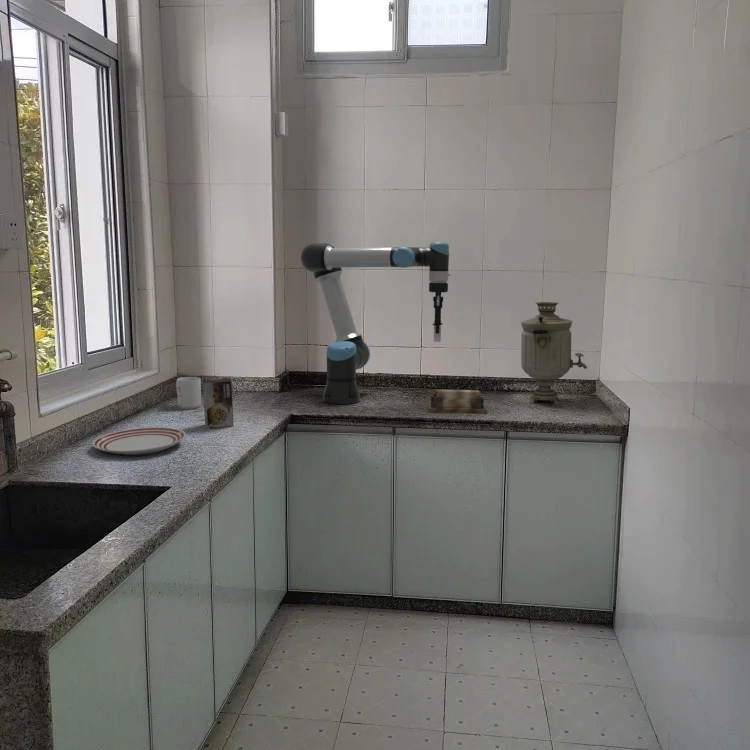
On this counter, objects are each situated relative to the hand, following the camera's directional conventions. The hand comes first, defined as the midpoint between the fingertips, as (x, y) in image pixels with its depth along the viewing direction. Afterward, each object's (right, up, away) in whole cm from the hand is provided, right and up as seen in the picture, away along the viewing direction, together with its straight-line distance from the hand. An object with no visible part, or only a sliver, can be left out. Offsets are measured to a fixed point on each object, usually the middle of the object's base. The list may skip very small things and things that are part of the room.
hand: (437, 341), depth 287 cm
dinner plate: (-97, -36, -65) cm, 123 cm away
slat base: (+6, -27, -13) cm, 30 cm away
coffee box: (-79, -31, -38) cm, 93 cm away
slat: (+7, -25, -13) cm, 29 cm away
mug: (-98, -26, -9) cm, 102 cm away
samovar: (+46, -25, +2) cm, 52 cm away
